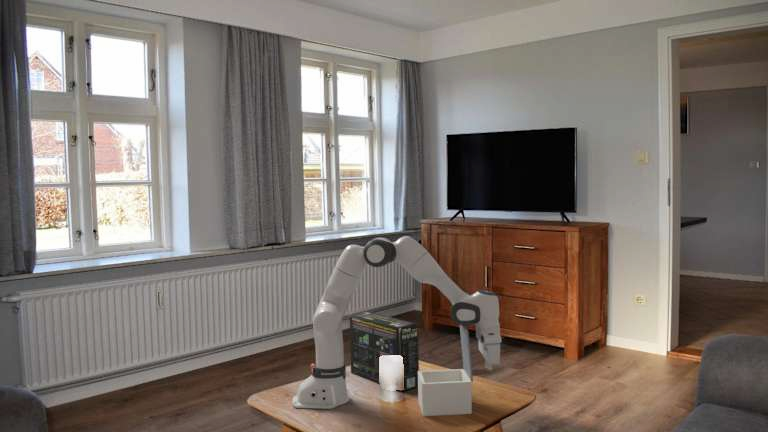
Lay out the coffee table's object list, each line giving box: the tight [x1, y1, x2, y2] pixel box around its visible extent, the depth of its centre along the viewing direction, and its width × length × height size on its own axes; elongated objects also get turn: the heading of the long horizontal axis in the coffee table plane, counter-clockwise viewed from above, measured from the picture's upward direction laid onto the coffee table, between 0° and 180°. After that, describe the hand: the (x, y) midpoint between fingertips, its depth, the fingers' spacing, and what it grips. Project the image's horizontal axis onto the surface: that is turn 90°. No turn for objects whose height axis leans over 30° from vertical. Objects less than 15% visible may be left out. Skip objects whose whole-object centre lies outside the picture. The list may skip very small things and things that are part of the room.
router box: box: [348, 311, 420, 391], centre depth 268 cm, size 36×11×27 cm, turn 39°
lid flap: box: [459, 325, 492, 383], centre depth 234 cm, size 19×16×9 cm
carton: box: [417, 368, 473, 417], centre depth 235 cm, size 18×15×12 cm
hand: (488, 369), depth 235 cm, fingers closed
